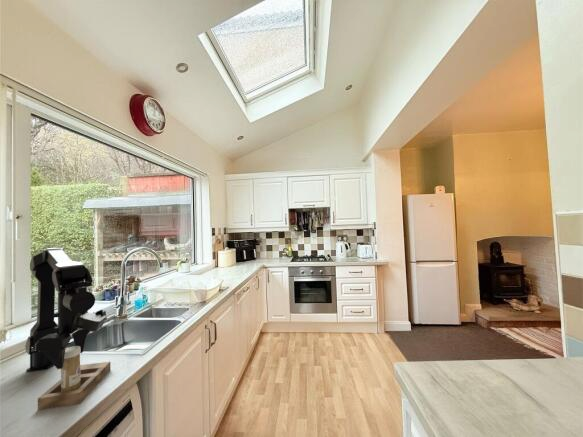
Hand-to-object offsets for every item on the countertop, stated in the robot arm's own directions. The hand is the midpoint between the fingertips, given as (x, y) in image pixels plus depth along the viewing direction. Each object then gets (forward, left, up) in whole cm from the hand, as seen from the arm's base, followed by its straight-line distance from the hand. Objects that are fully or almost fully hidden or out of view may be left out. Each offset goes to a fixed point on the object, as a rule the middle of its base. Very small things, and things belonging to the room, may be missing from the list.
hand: (70, 360), depth 75 cm
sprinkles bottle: (0, 0, -10) cm, 10 cm away
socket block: (0, +4, -10) cm, 11 cm away
